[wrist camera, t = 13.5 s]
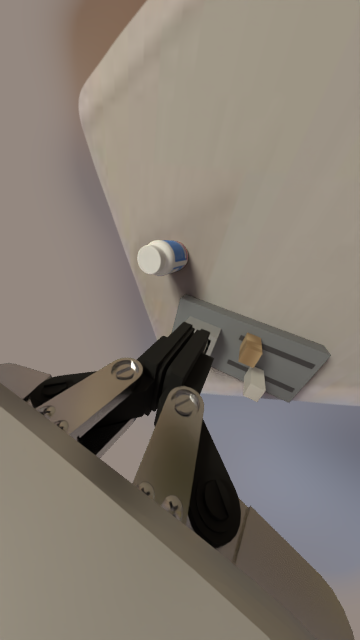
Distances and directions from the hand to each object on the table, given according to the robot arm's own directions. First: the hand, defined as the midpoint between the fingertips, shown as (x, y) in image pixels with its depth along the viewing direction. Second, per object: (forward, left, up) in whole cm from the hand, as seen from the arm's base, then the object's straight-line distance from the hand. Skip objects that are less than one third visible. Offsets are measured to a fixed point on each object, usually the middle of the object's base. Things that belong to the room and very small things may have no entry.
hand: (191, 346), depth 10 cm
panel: (-5, +11, -23) cm, 26 cm away
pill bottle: (+12, -1, -24) cm, 26 cm away
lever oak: (-7, +8, -20) cm, 23 cm away
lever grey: (-10, +14, -20) cm, 27 cm away
